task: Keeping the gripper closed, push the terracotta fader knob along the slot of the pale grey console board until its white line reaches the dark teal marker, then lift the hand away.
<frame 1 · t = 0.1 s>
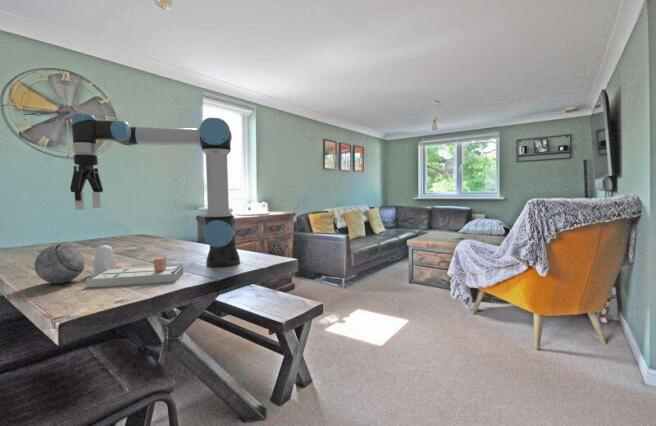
hand: (89, 208, 131), 28 cm above the table, fingers open, 13 cm apart
console board: (138, 279, 130), on the table
grey rounded lump: (61, 283, 127), on the table
fader knob: (160, 263, 131), point 6 cm above the table, slide at -8.0 cm
figurine: (104, 273, 140), on the table
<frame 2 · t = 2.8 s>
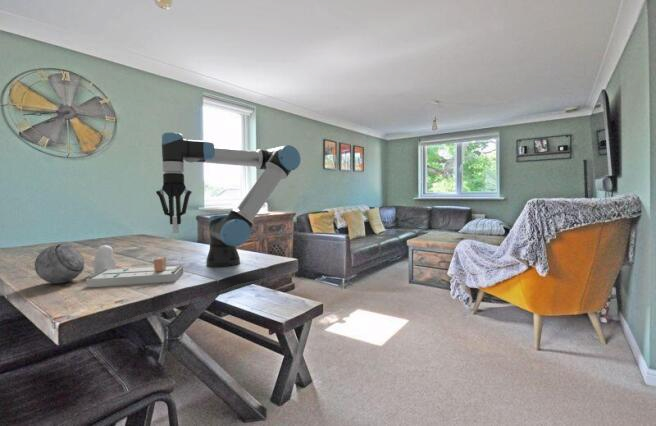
hand: (175, 232, 131), 18 cm above the table, fingers closed
nothing on the table moved.
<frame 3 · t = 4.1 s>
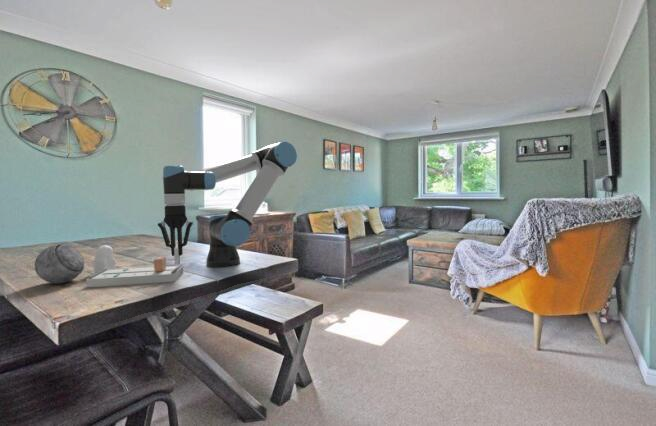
hand: (177, 263, 132), 5 cm above the table, fingers closed
nothing on the table moved.
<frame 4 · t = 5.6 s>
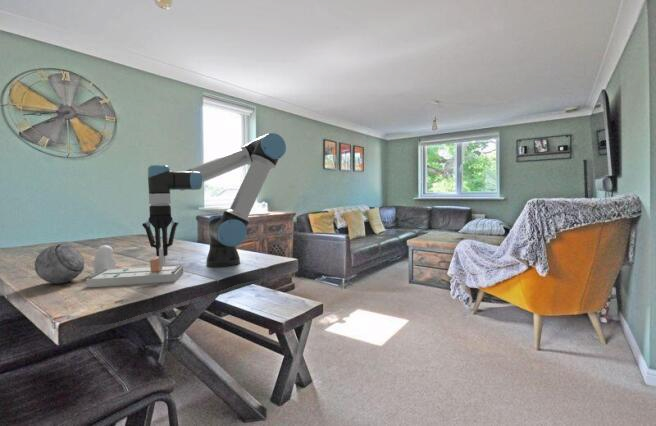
hand: (162, 264, 131), 6 cm above the table, fingers closed
fader knob: (156, 264, 131), point 6 cm above the table, slide at -6.6 cm, touching gripper
everything else where it was.
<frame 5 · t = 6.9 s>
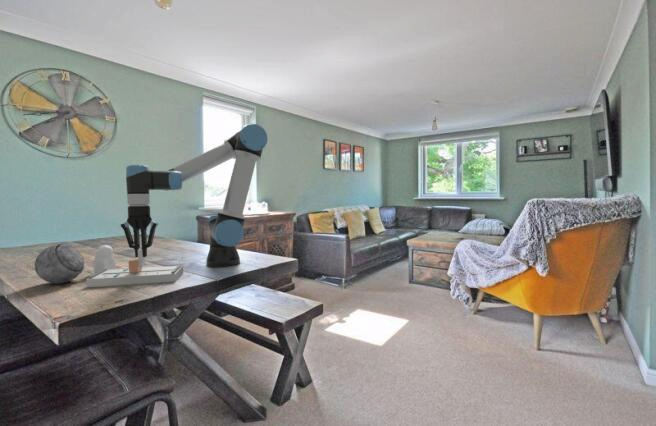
hand: (141, 265, 130), 6 cm above the table, fingers closed
fader knob: (135, 265, 129), point 6 cm above the table, slide at 0.9 cm, touching gripper
everything else where it was.
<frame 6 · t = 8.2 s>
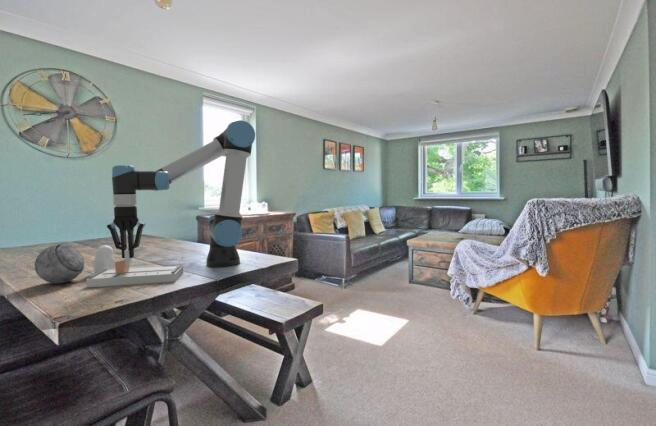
hand: (128, 266, 129), 5 cm above the table, fingers closed
fader knob: (122, 265, 128), point 6 cm above the table, slide at 5.6 cm, touching gripper
everything else where it was.
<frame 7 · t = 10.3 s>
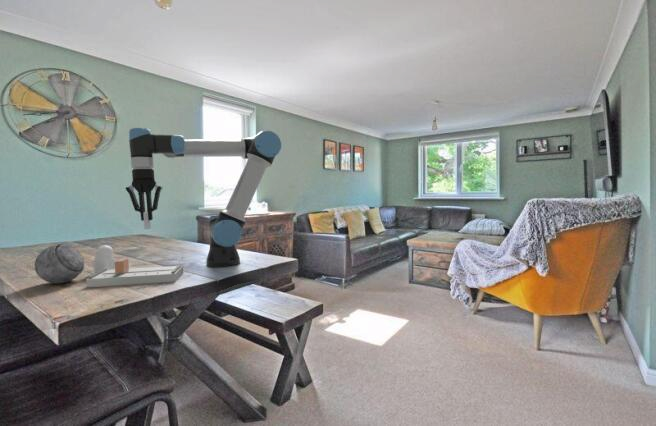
hand: (147, 228, 131), 20 cm above the table, fingers closed
fader knob: (121, 265, 128), point 6 cm above the table, slide at 5.7 cm
everything else where it was.
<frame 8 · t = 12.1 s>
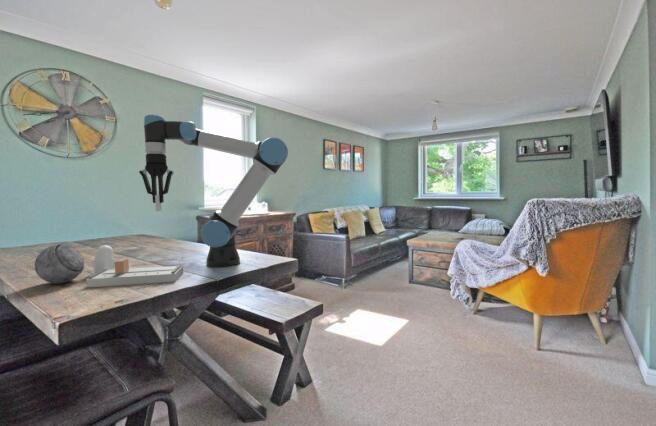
hand: (158, 210, 138), 26 cm above the table, fingers closed
nothing on the table moved.
at the end: fader knob slide at 5.7 cm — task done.
